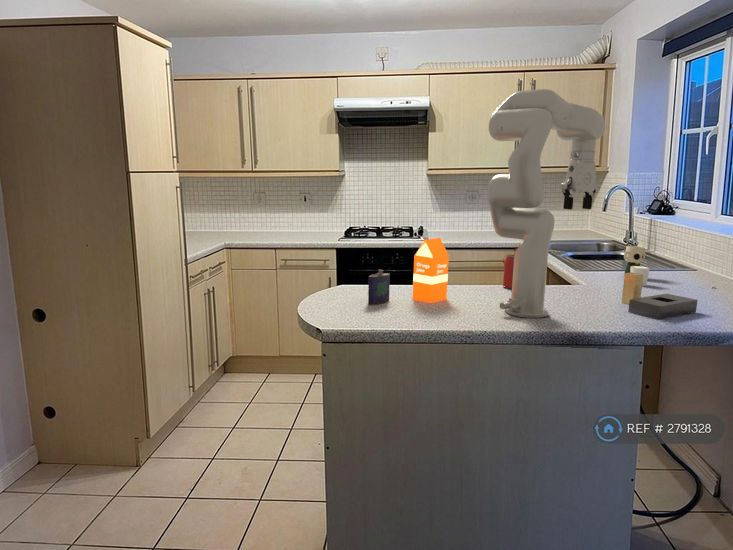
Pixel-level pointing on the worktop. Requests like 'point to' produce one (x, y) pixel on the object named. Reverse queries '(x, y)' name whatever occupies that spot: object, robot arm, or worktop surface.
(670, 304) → the grey slotted block
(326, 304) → the worktop surface
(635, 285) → the brass peg
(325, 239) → the worktop surface
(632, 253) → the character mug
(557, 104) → the robot arm
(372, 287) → the flask
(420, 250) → the orange juice
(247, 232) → the worktop surface
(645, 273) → the white cube
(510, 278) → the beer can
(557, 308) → the worktop surface
